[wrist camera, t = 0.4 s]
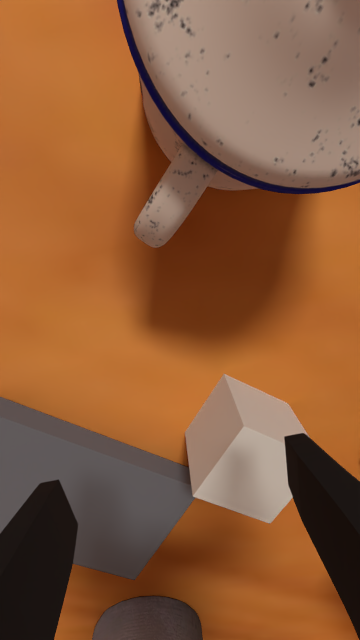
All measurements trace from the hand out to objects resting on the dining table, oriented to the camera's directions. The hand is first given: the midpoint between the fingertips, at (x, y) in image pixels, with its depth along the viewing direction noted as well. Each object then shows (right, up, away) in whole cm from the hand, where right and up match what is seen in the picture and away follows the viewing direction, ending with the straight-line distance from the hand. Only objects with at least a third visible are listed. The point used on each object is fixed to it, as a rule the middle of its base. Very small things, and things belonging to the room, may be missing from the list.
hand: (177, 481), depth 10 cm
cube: (+4, -1, +11) cm, 12 cm away
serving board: (-7, -7, +12) cm, 16 cm away
